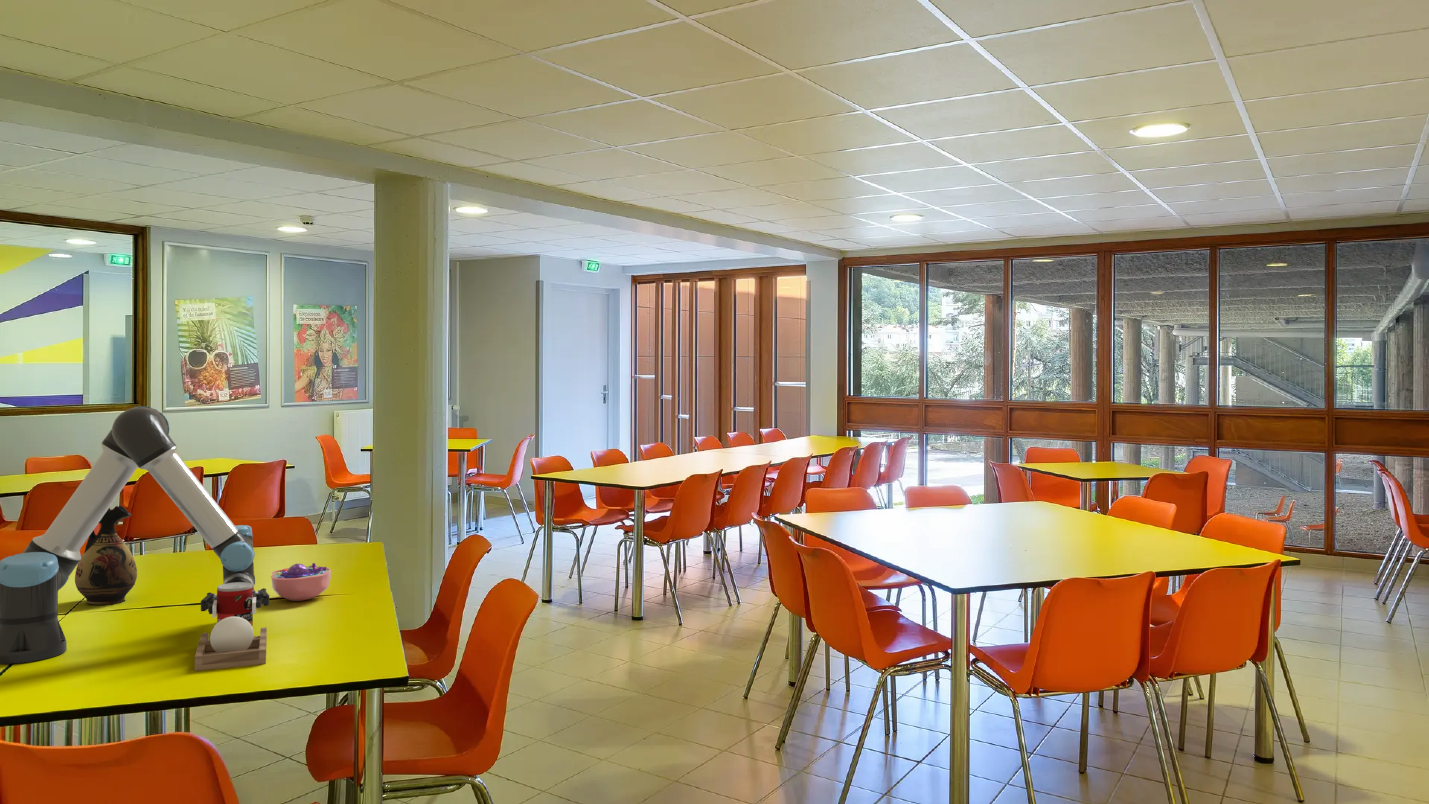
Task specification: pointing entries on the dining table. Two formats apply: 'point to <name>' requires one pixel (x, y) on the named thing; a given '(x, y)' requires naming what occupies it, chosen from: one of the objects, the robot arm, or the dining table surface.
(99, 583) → the ceramic jug
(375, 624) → the dining table surface
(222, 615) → the canned food
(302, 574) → the cell model
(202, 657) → the walnut tray
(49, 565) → the robot arm
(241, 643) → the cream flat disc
